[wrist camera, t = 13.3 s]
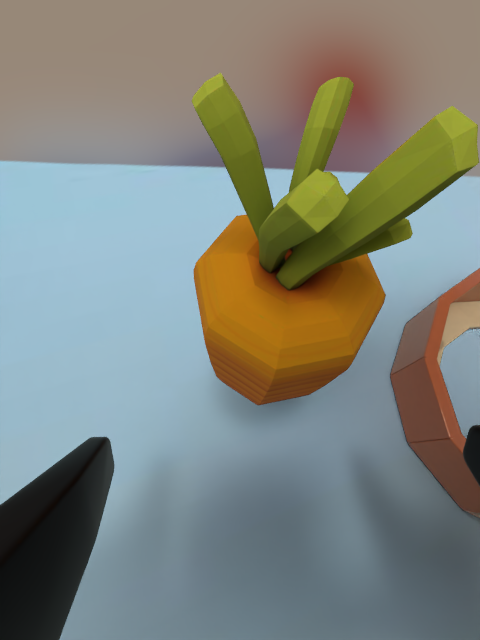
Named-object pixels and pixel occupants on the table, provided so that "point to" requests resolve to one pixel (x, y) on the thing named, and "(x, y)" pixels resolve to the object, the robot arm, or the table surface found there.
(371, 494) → the table surface
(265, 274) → the carrot
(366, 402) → the table surface
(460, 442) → the brown round ring
